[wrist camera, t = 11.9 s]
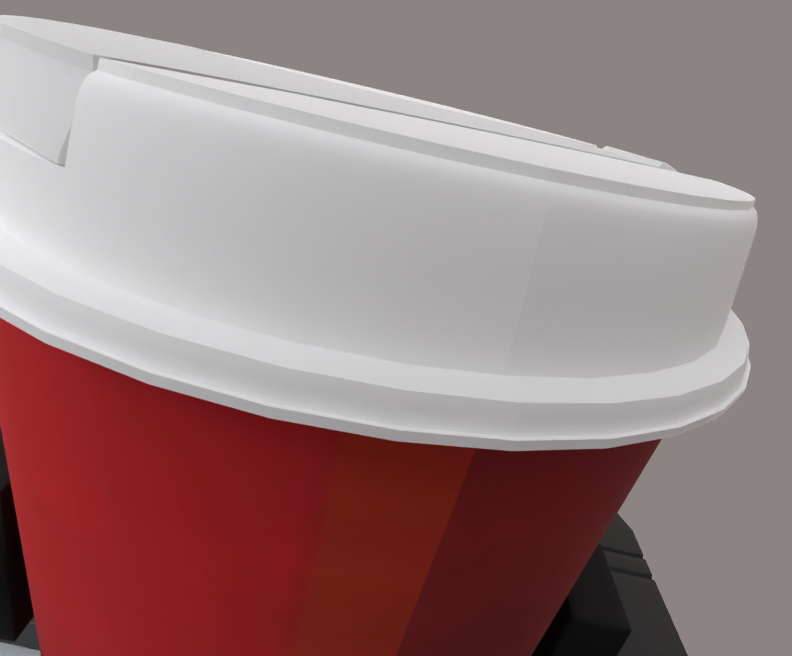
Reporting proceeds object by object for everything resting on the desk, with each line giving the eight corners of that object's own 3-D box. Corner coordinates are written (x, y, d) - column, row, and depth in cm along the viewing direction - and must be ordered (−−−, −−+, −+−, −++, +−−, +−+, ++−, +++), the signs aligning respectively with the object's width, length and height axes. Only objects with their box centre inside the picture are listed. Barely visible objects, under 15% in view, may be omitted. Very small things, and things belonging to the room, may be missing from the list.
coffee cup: (386, 635, 17) (547, 125, 11) (486, 1070, 10) (1134, 292, 4) (78, 659, 14) (60, 11, 8) (-93, 1273, 7) (-1173, -187, 1)
